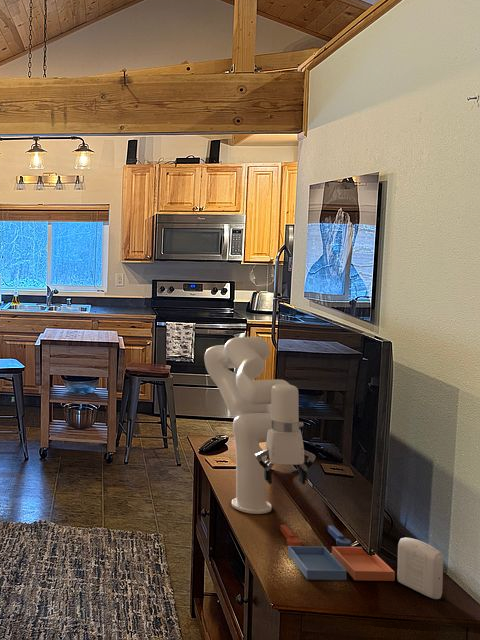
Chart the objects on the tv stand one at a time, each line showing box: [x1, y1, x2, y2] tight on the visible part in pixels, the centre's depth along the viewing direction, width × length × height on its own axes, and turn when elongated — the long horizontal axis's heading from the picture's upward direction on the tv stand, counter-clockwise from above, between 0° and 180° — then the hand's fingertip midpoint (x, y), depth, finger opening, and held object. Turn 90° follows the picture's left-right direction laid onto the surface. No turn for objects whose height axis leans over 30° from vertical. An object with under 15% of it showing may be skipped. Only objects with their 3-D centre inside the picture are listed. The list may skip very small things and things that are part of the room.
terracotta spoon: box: [280, 524, 302, 546], centre depth 194 cm, size 11×4×2 cm, turn 175°
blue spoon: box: [327, 524, 352, 547], centre depth 193 cm, size 11×4×2 cm, turn 175°
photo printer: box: [396, 537, 444, 600], centre depth 164 cm, size 10×4×12 cm, turn 23°
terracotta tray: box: [331, 546, 396, 582], centre depth 176 cm, size 14×10×2 cm
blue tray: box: [287, 545, 348, 581], centre depth 177 cm, size 14×10×2 cm
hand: (285, 482), depth 195 cm, fingers open, 9 cm apart
